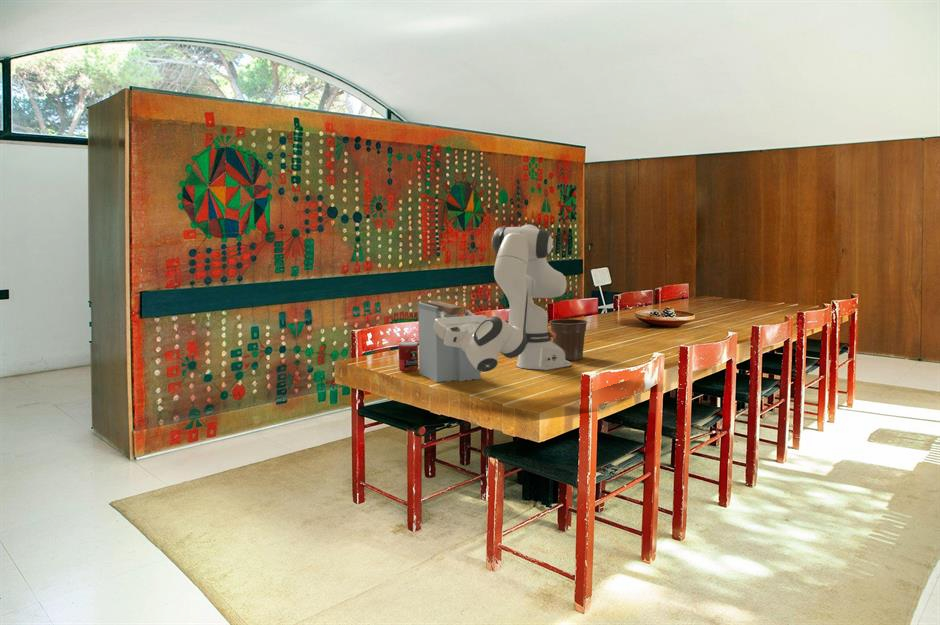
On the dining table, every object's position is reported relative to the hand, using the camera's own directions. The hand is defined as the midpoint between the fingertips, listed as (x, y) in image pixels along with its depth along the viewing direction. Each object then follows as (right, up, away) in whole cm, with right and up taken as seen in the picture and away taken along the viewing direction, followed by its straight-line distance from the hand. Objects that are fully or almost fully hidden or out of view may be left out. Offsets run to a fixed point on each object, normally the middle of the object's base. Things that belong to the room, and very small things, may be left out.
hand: (454, 312), depth 255 cm
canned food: (-19, -23, +30) cm, 42 cm away
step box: (-2, -25, +18) cm, 30 cm away
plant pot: (+48, -20, +52) cm, 74 cm away
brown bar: (-4, 0, +8) cm, 9 cm away
